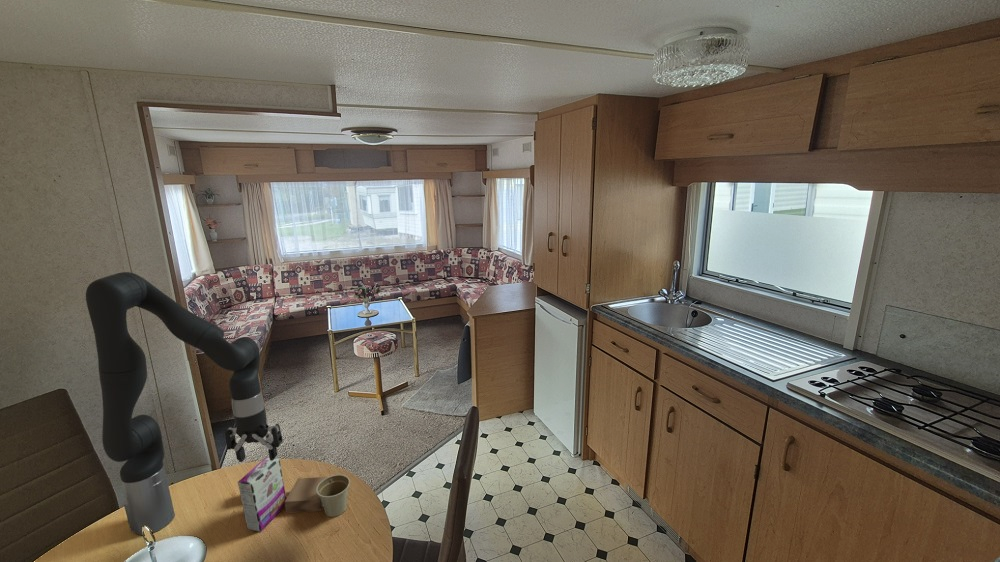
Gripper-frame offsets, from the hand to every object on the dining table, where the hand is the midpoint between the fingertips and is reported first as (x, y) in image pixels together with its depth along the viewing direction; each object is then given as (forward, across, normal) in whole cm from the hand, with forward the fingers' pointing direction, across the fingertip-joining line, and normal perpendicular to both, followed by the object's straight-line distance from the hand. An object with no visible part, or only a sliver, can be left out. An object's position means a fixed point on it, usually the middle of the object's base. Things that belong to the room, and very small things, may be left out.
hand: (257, 459), depth 119 cm
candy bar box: (+20, 0, 0) cm, 20 cm away
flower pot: (+20, +19, +2) cm, 28 cm away
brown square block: (+20, +10, +6) cm, 23 cm away
